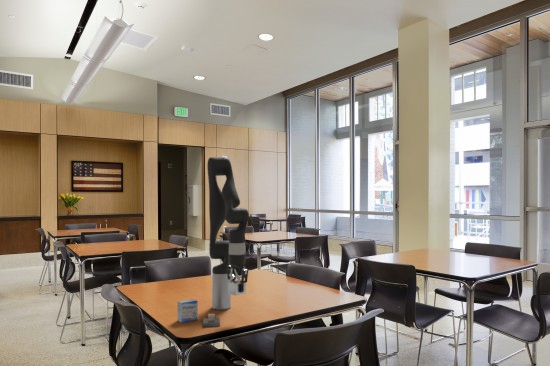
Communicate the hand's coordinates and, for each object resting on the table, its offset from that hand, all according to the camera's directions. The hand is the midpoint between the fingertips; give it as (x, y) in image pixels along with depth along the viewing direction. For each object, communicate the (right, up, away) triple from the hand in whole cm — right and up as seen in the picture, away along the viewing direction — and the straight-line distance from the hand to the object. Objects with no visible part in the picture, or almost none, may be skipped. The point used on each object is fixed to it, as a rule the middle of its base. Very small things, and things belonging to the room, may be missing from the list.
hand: (237, 290), depth 173 cm
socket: (0, -1, 0) cm, 1 cm away
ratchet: (-11, -13, -1) cm, 17 cm away
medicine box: (-22, -14, +1) cm, 26 cm away
